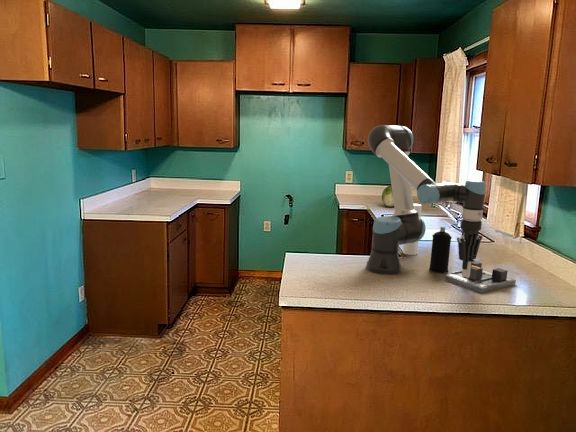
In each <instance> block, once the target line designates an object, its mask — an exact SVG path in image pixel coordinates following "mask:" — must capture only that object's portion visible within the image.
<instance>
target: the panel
mask: <svg viewBox="0 0 576 432" xmlns="http://www.w3.org/2000/svg"><path fill="white" fill-rule="evenodd" d="M472 265H473V266H477V267H480V268H482V267H483V262H480V261H477V260H475V261H474V262H472V264H471V266H472ZM444 279H445V280H444V281H447V280H448V281H447V282H449V281H451V282H450V283H452V282H453V284H455V283H456V285H458V284H459V285H458V286H460V285H461V287H463V286H464V287H463V288H466V287H467V288H466V289H468V288H469V289H468V290H471V291H475V292H477V293H479V294H484V293H487V292H488V293H489V292H491V291H496V290H500V289H504V288H508V287H511V286H515V285H516V281H517V280H516V279H513V278H509V277H508V269H507V270H506V269H502V268H500V267H498V268H492V271H488V270H485V269H483V272H482V279H479V280H473V279H470V278H467V277H464V276H462V269H461V270H458V271H453V272H452V271H451V272H450V273H449V274H448V273H447V274H445V275H444Z"/></svg>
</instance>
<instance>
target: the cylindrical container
mask: <svg viewBox="0 0 576 432" xmlns="http://www.w3.org/2000/svg"><path fill="white" fill-rule="evenodd" d="M413 204H414V209H415V210H416V211H417V212H418V215H419V217H420V218H421V219H422V217H421V216H422V203H421V204H419V203H414V202H413ZM402 245H403V246H402V254H404V255H407V254H408V256H416V254H417V255H418V251H419V250H418V249H419V241H417V242H414V243H407V244H402Z"/></svg>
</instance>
